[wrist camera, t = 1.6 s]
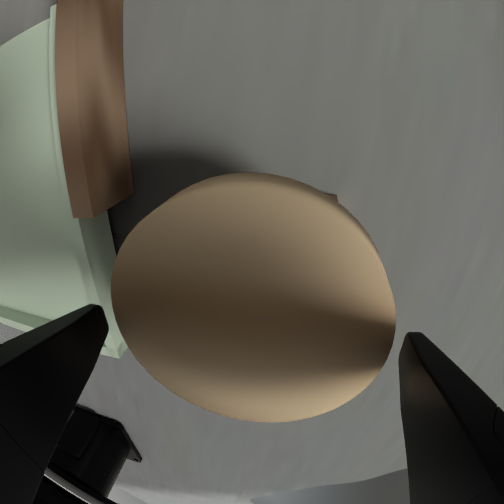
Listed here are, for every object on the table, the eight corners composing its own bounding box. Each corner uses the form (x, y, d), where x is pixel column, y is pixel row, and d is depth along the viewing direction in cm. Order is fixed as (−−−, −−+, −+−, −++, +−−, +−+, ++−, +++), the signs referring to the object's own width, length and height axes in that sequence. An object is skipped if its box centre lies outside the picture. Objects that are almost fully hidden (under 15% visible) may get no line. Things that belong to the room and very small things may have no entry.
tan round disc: (361, 394, 11) (363, 427, 10) (160, 373, 12) (145, 401, 11) (404, 179, 7) (423, 197, 6) (116, 176, 9) (84, 192, 7)
